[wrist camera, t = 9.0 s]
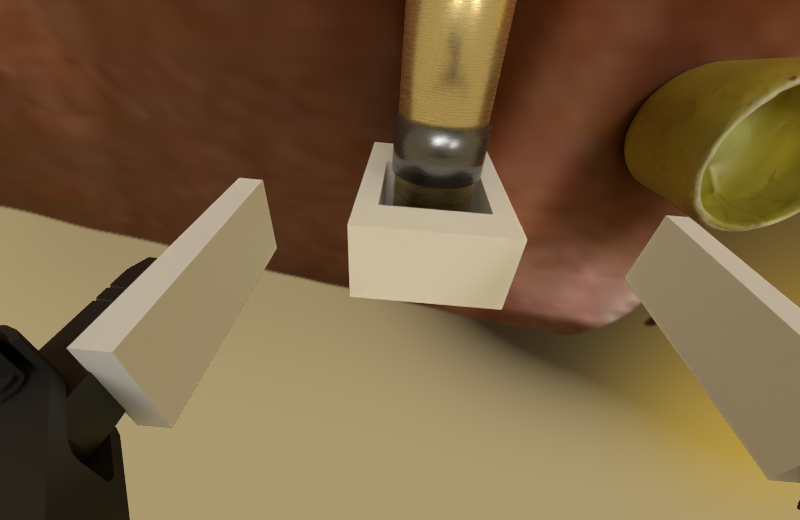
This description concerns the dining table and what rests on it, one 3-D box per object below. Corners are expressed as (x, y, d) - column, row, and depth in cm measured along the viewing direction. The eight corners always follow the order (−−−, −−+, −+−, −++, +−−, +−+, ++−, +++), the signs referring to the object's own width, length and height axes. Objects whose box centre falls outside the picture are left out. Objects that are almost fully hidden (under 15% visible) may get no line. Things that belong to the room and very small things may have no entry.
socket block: (374, 141, 26) (347, 224, 16) (487, 151, 26) (527, 239, 16) (373, 198, 29) (349, 296, 19) (474, 207, 29) (501, 309, 20)
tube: (414, -186, 14) (412, -271, 9) (544, -174, 14) (600, -254, 9) (392, 190, 24) (386, 230, 20) (465, 196, 24) (475, 238, 20)
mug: (604, 224, 28) (723, 260, 18) (596, 94, 25) (735, 54, 15) (747, 187, 28) (942, 202, 18) (757, 50, 24) (999, -18, 15)
